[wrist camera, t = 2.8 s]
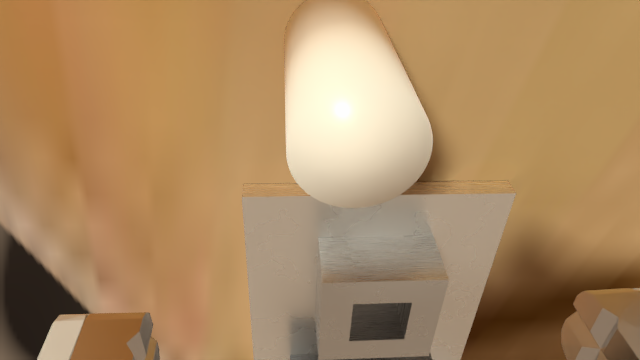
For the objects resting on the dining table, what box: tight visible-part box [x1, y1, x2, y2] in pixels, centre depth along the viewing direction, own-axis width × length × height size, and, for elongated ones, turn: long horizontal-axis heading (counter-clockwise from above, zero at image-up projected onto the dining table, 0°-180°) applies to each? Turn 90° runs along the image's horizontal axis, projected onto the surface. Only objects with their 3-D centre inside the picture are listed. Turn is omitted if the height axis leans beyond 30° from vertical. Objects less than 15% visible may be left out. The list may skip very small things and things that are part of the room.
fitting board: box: [242, 181, 516, 360], centre depth 29 cm, size 13×22×4 cm, turn 178°
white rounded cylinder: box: [284, 0, 433, 208], centre depth 17 cm, size 4×4×8 cm
